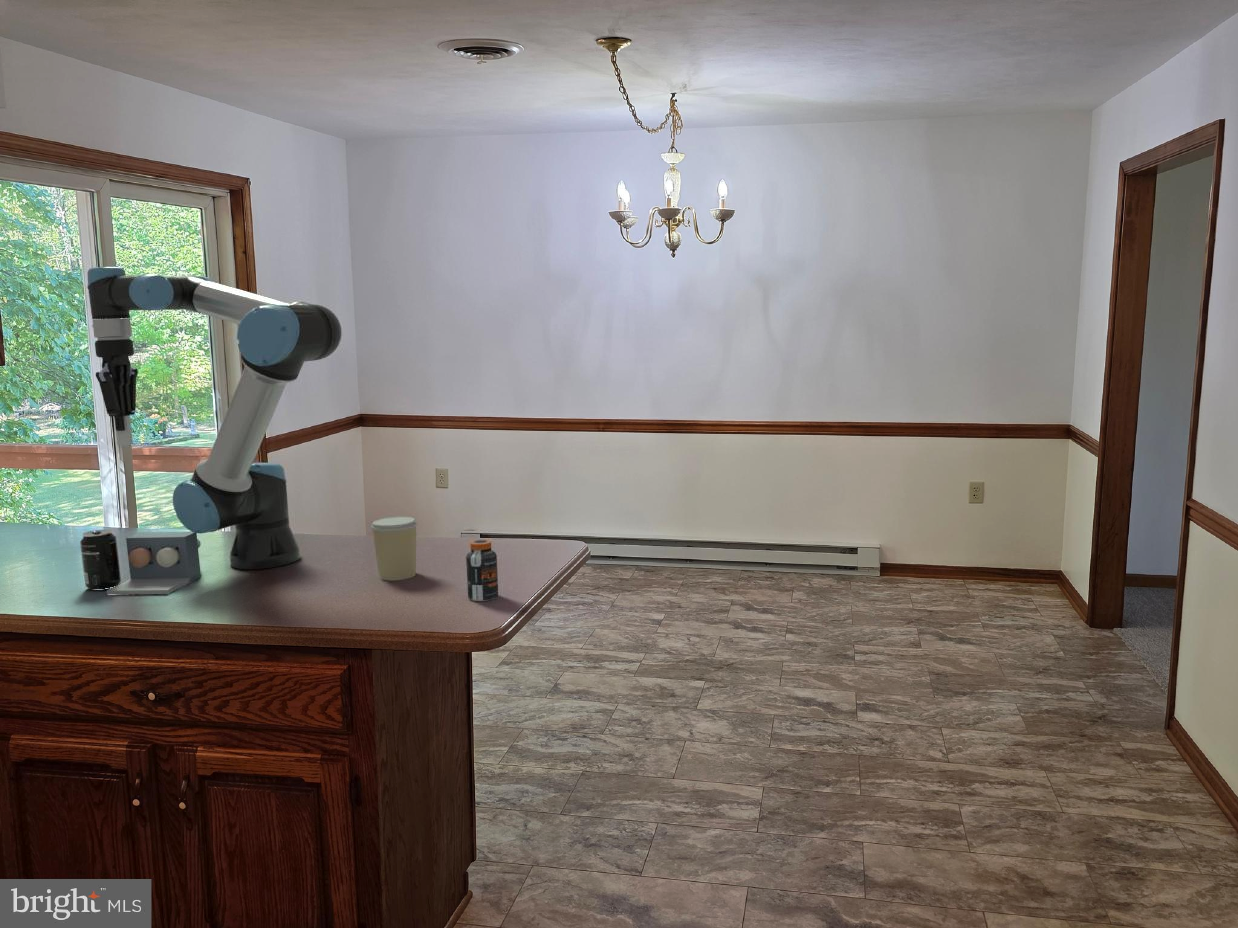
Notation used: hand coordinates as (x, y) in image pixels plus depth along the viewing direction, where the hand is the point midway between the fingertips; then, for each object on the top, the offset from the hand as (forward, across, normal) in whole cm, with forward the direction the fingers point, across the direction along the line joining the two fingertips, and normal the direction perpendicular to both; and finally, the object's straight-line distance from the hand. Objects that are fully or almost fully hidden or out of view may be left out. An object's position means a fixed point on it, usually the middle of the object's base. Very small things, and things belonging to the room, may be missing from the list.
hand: (125, 444), depth 220 cm
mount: (+28, +15, +12) cm, 34 cm away
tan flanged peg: (+24, +9, +9) cm, 27 cm away
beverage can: (+29, +16, +1) cm, 33 cm away
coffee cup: (+29, +10, +63) cm, 70 cm away
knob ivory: (+24, +9, +15) cm, 30 cm away
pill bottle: (+29, +27, +85) cm, 94 cm away
